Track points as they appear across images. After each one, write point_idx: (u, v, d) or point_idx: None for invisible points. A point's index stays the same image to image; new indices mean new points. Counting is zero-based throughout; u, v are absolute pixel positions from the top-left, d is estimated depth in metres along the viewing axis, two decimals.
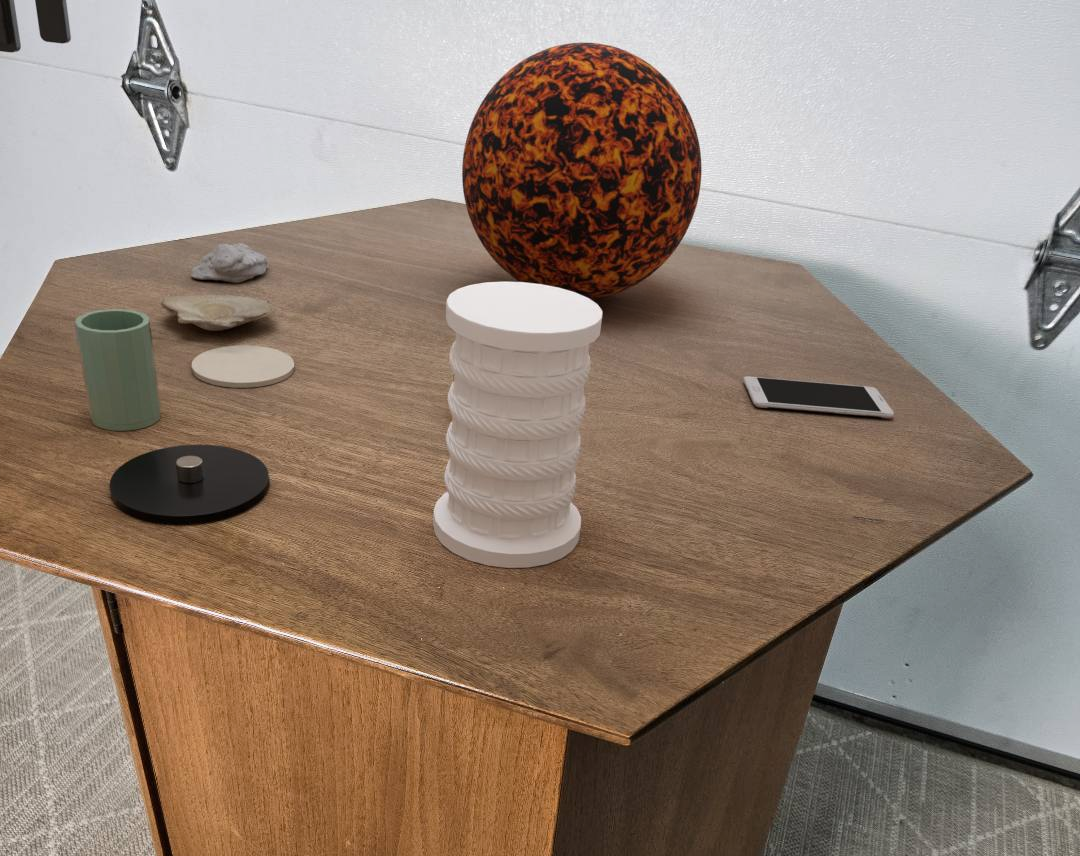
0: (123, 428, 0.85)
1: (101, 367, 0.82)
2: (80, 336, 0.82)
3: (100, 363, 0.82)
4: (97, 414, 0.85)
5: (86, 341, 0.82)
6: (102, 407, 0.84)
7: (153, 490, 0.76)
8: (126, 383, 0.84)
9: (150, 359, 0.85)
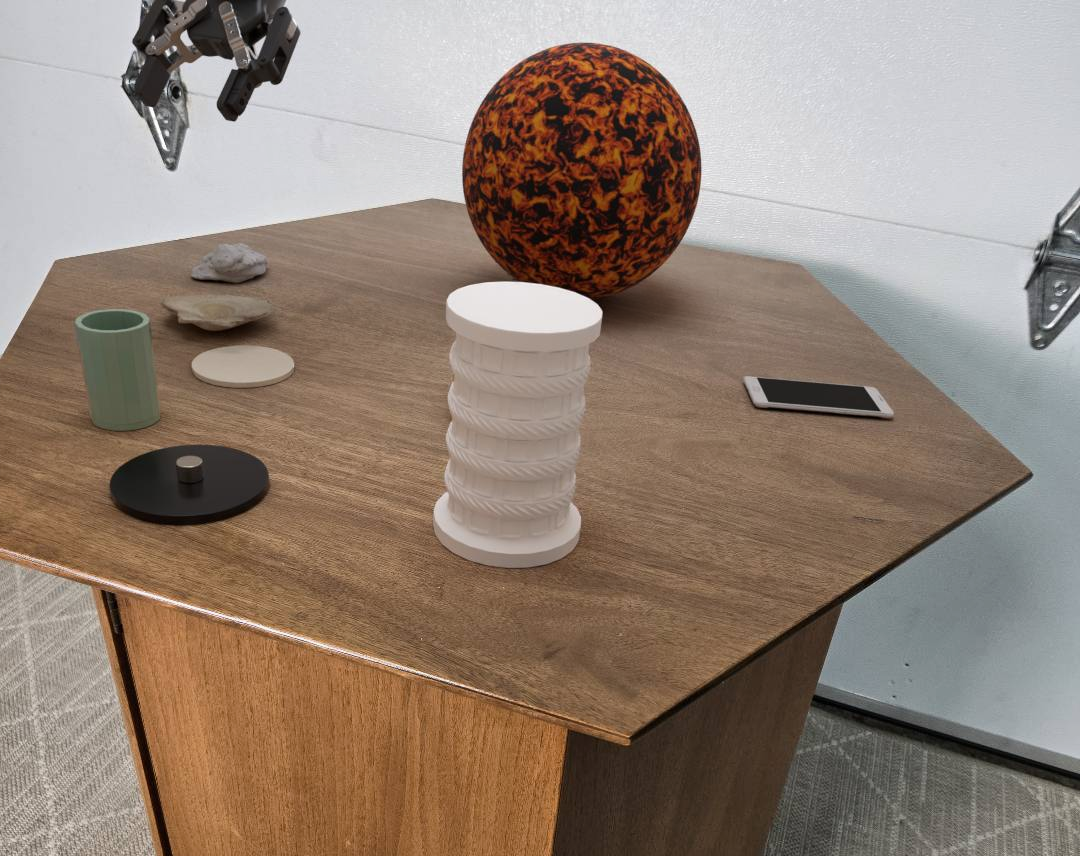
0: (123, 428, 0.85)
1: (101, 367, 0.82)
2: (80, 336, 0.82)
3: (100, 363, 0.82)
4: (97, 414, 0.85)
5: (86, 341, 0.82)
6: (102, 407, 0.84)
7: (153, 490, 0.76)
8: (126, 383, 0.84)
9: (150, 359, 0.85)
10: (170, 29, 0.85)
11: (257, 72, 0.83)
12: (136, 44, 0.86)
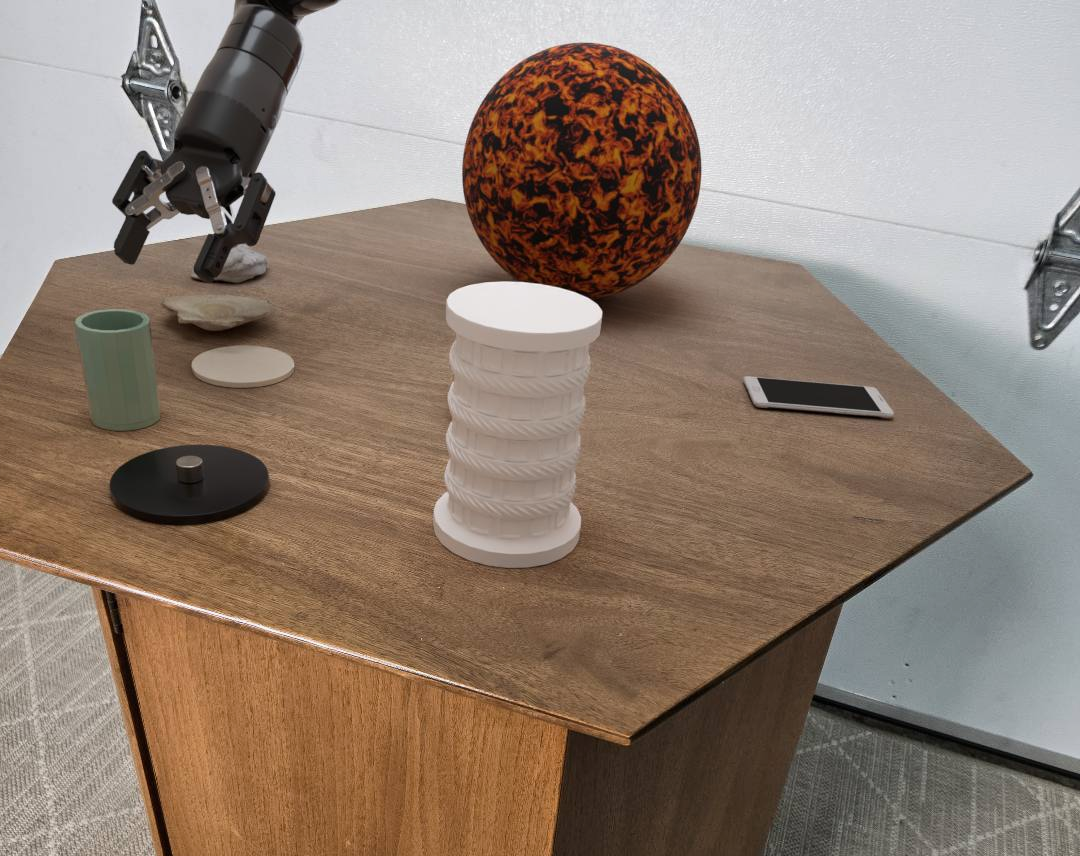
0: (123, 428, 0.85)
1: (101, 367, 0.82)
2: (80, 336, 0.82)
3: (100, 363, 0.82)
4: (97, 414, 0.85)
5: (86, 341, 0.82)
6: (102, 407, 0.84)
7: (153, 490, 0.76)
8: (126, 383, 0.84)
9: (150, 359, 0.85)
10: (149, 191, 0.88)
11: (233, 236, 0.86)
12: (116, 204, 0.89)
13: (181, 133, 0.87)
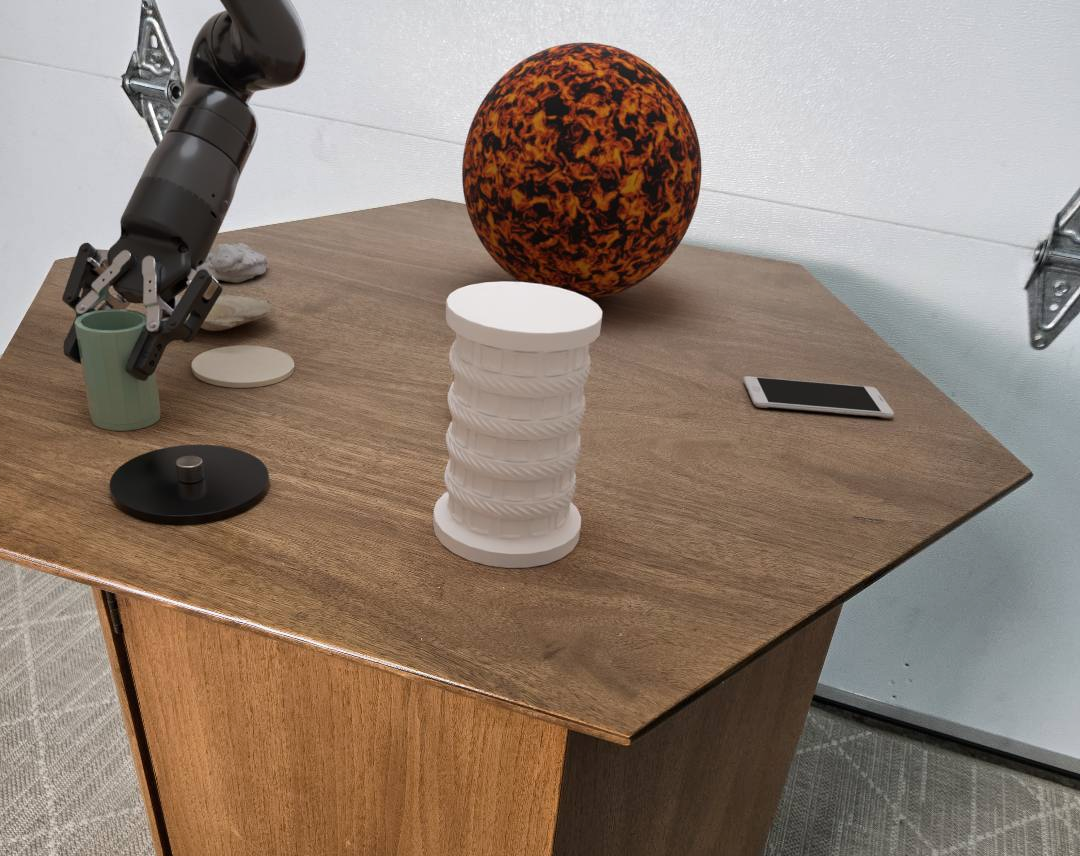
0: (123, 428, 0.85)
1: (101, 367, 0.82)
2: (80, 336, 0.82)
3: (100, 363, 0.82)
4: (97, 414, 0.85)
5: (86, 341, 0.82)
6: (102, 407, 0.84)
7: (153, 490, 0.76)
8: (126, 383, 0.84)
9: None
10: (97, 286, 0.84)
11: (167, 334, 0.83)
12: (66, 301, 0.85)
13: (126, 221, 0.84)
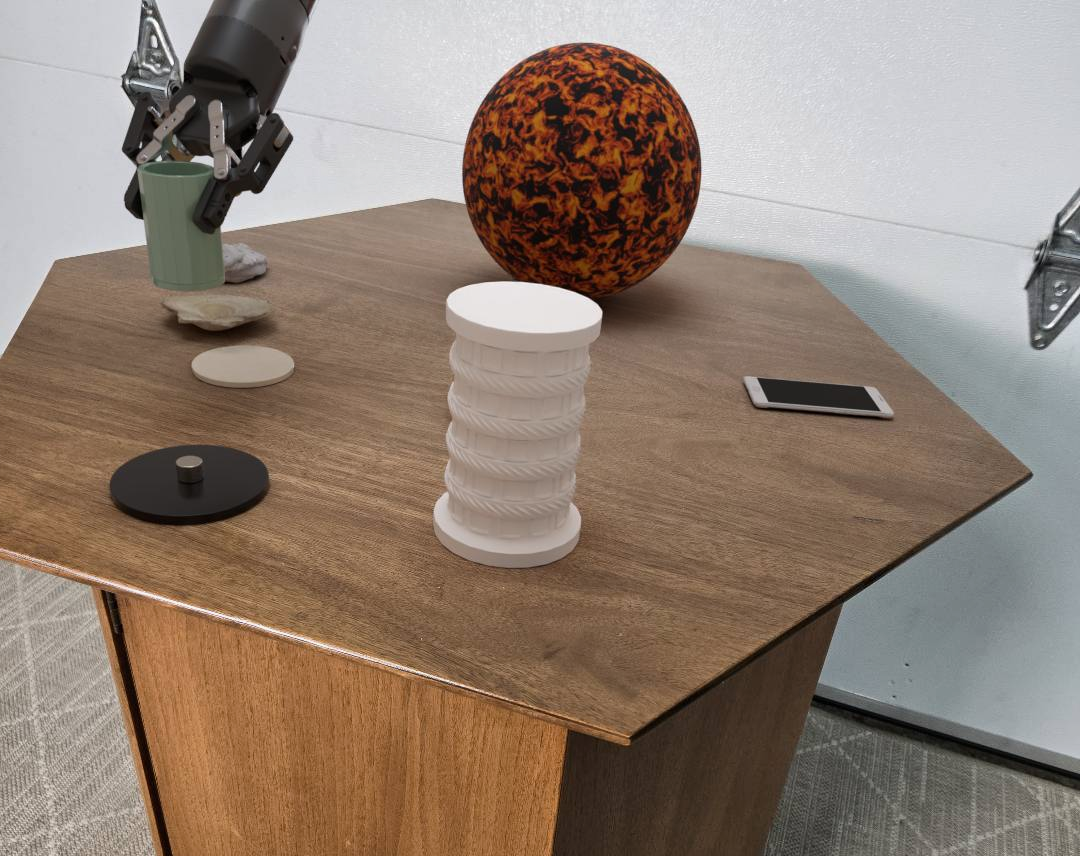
0: (187, 288, 0.80)
1: (166, 217, 0.77)
2: (143, 183, 0.76)
3: (165, 213, 0.77)
4: (160, 273, 0.79)
5: (150, 188, 0.76)
6: (165, 264, 0.79)
7: (153, 490, 0.76)
8: (192, 237, 0.78)
9: None
10: (160, 134, 0.79)
11: (236, 182, 0.77)
12: (126, 152, 0.79)
13: (191, 63, 0.78)
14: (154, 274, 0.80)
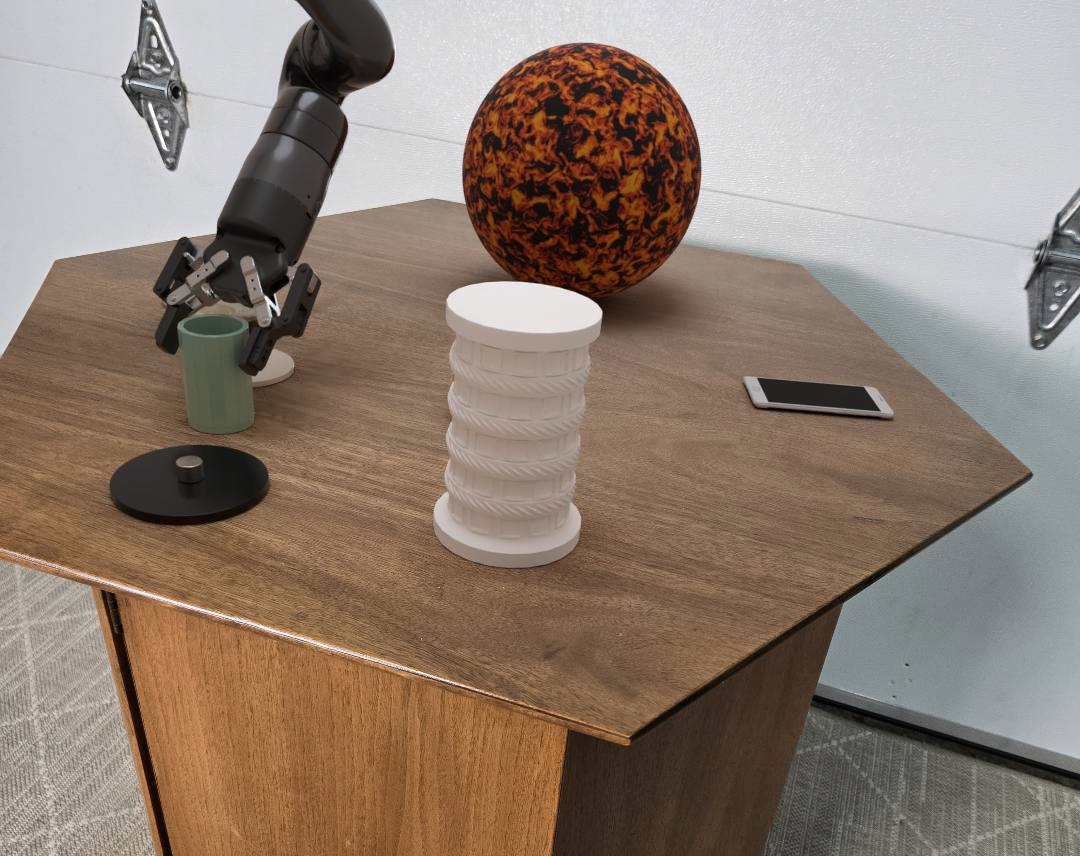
0: (221, 431, 0.87)
1: (203, 371, 0.84)
2: (183, 341, 0.83)
3: (202, 367, 0.83)
4: (196, 417, 0.86)
5: (189, 346, 0.83)
6: (202, 411, 0.86)
7: (153, 490, 0.76)
8: (226, 387, 0.85)
9: None
10: (191, 281, 0.85)
11: (278, 330, 0.83)
12: (157, 293, 0.86)
13: (225, 222, 0.85)
14: (190, 418, 0.87)
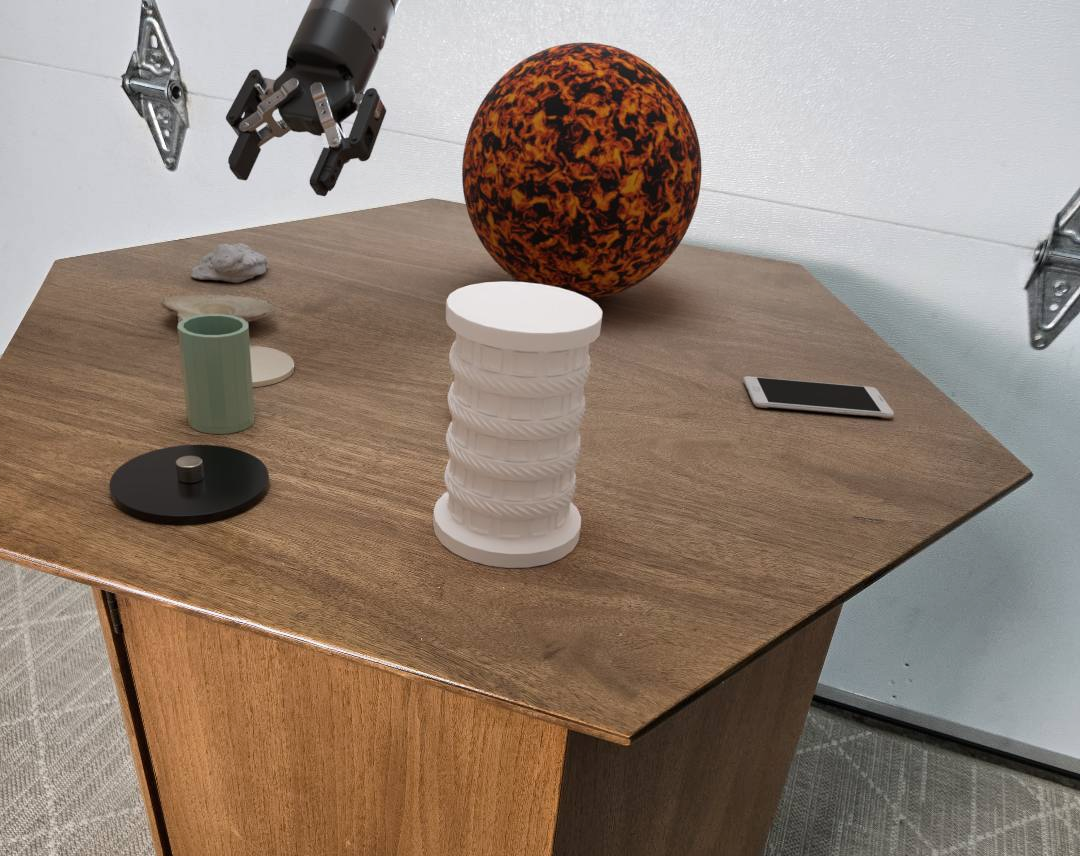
0: (221, 431, 0.87)
1: (203, 371, 0.84)
2: (183, 341, 0.83)
3: (202, 367, 0.83)
4: (196, 417, 0.86)
5: (189, 346, 0.83)
6: (202, 411, 0.86)
7: (153, 490, 0.76)
8: (226, 387, 0.85)
9: (248, 363, 0.86)
10: (263, 107, 0.90)
11: (347, 150, 0.88)
12: (230, 120, 0.91)
13: (295, 50, 0.89)
14: (190, 418, 0.87)
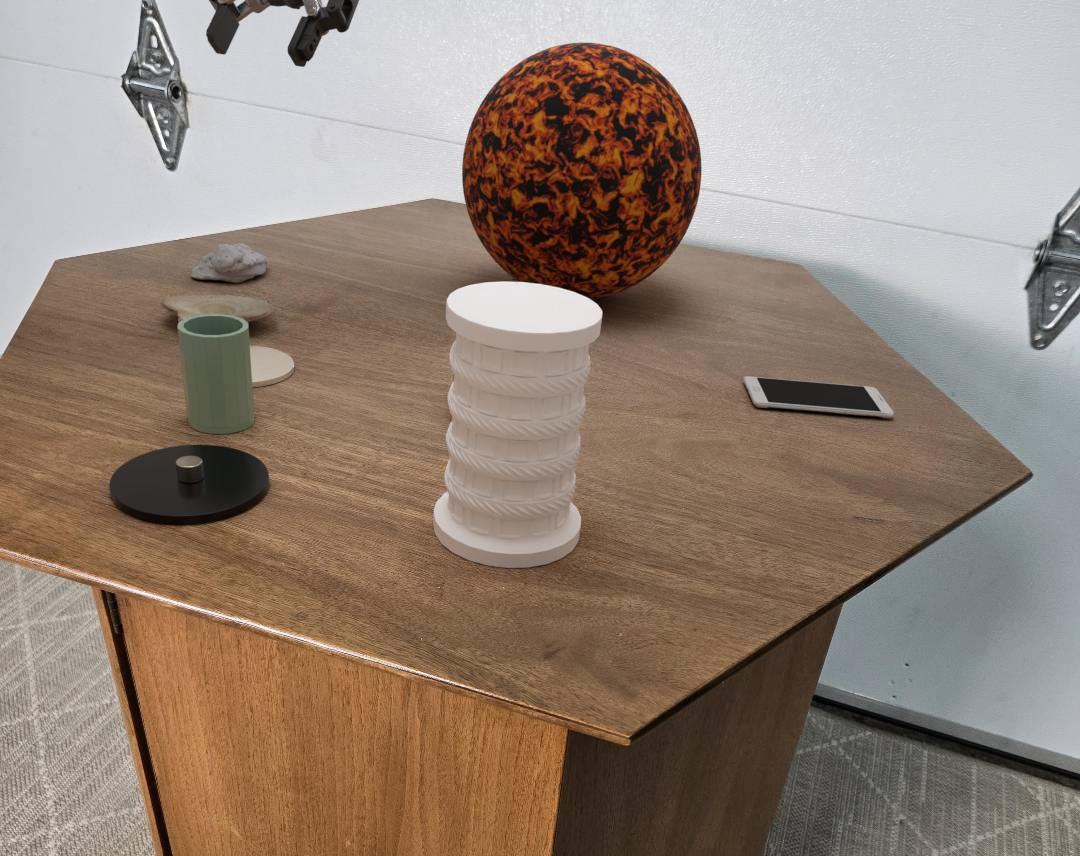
0: (221, 431, 0.87)
1: (203, 371, 0.84)
2: (183, 341, 0.83)
3: (202, 367, 0.83)
4: (196, 417, 0.86)
5: (189, 346, 0.83)
6: (202, 411, 0.86)
7: (153, 490, 0.76)
8: (226, 387, 0.85)
9: (248, 363, 0.86)
10: None
11: (326, 19, 0.87)
12: None
13: None
14: (190, 418, 0.87)
